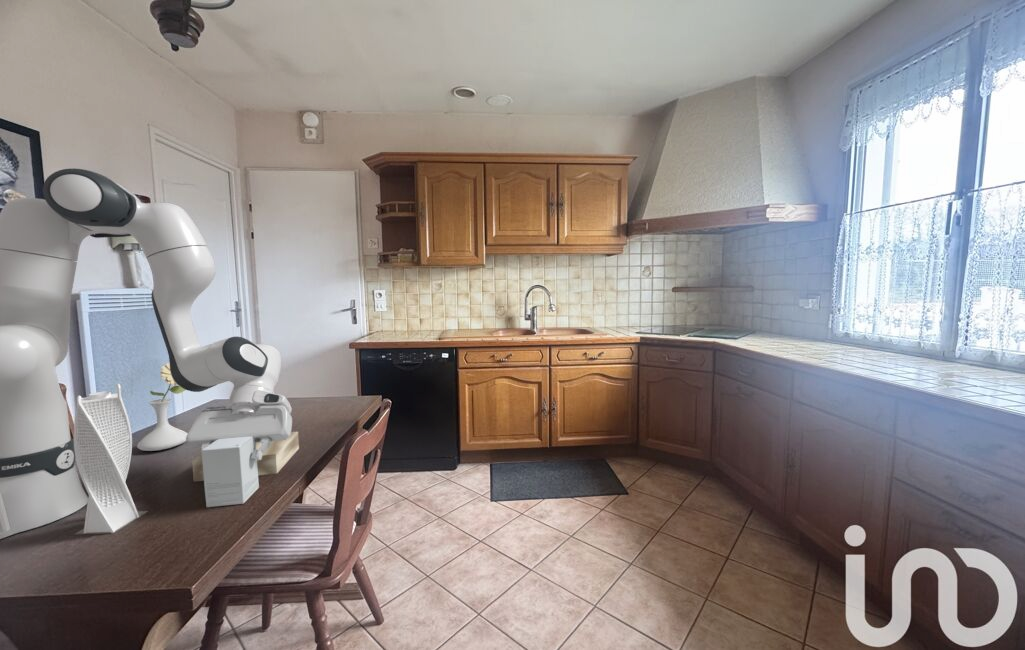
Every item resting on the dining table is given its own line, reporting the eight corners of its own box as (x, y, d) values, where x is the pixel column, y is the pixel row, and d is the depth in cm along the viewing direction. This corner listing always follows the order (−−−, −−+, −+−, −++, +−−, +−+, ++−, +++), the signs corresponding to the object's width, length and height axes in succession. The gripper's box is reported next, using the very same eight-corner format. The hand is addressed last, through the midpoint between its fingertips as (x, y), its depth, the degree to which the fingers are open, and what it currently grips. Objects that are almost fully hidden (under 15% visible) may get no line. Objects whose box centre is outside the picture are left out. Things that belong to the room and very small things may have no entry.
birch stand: (193, 481, 91) (192, 461, 90) (228, 454, 106) (227, 436, 106) (276, 473, 94) (275, 454, 94) (299, 448, 110) (298, 431, 110)
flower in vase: (145, 458, 104) (137, 368, 102) (131, 449, 110) (123, 364, 108) (203, 442, 115) (196, 360, 113) (187, 435, 121) (181, 357, 119)
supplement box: (260, 487, 88) (256, 434, 87) (243, 504, 81) (239, 446, 80) (224, 490, 87) (220, 436, 86) (204, 508, 79) (199, 449, 78)
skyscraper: (155, 512, 78) (143, 379, 76) (115, 538, 70) (101, 389, 68) (112, 514, 78) (98, 380, 76) (68, 539, 70) (51, 390, 68)
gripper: (193, 401, 87) (168, 460, 79) (291, 395, 92) (278, 451, 83) (206, 414, 92) (184, 471, 83) (298, 408, 96) (286, 462, 88)
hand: (231, 461), depth 83 cm, fingers open, 8 cm apart
